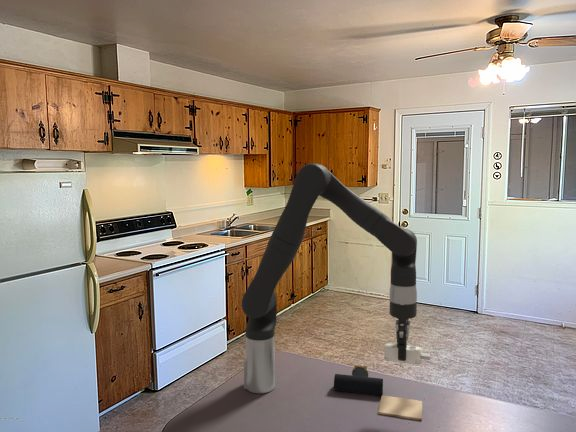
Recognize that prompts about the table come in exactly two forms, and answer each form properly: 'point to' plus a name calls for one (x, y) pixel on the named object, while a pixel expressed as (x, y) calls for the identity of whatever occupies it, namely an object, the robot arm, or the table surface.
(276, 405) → the table surface
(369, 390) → the pipe connector
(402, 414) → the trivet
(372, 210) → the robot arm
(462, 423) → the table surface
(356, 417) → the table surface
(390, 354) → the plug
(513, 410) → the table surface
